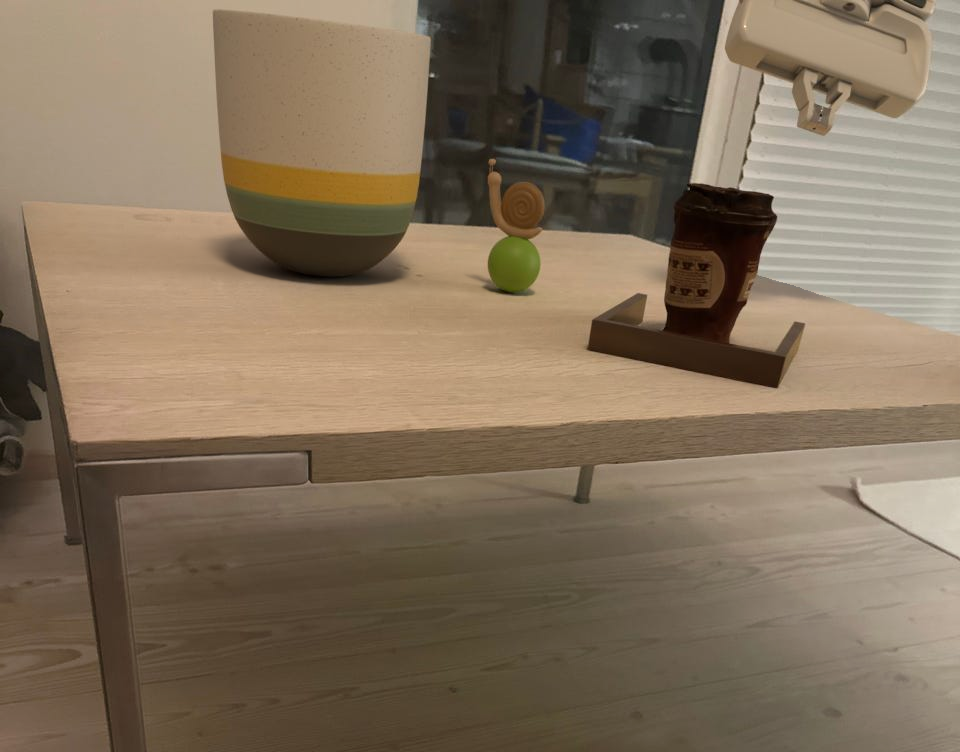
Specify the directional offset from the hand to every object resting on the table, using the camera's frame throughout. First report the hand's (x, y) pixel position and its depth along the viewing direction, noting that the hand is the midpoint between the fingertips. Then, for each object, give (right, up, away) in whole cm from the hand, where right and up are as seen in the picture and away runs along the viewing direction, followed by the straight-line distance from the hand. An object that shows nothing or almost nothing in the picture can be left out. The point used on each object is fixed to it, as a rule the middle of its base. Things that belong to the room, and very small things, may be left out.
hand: (814, 128), depth 89 cm
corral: (-13, -24, -7) cm, 28 cm away
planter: (-49, -12, +6) cm, 51 cm away
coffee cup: (-13, -23, -6) cm, 28 cm away
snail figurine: (-30, -13, +7) cm, 33 cm away
